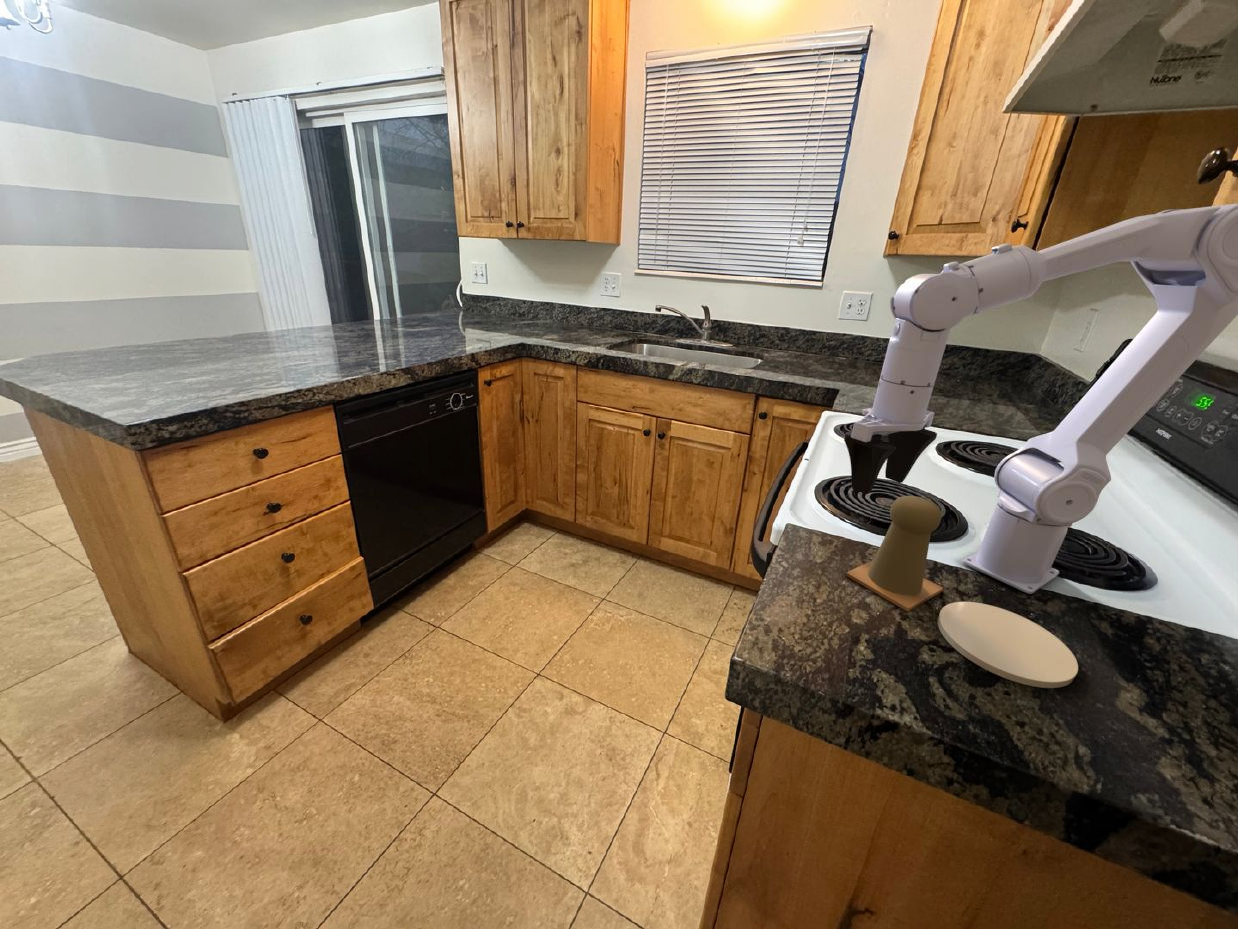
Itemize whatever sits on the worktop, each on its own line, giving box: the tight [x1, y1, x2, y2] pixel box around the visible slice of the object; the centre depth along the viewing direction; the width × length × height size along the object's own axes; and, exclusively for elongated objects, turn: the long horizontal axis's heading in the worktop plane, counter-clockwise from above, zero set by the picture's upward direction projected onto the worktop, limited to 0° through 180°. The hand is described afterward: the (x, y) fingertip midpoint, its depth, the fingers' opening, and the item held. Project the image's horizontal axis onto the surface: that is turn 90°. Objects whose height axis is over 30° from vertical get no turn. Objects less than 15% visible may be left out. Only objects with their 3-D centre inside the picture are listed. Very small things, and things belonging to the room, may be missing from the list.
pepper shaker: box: [868, 495, 943, 595], centre depth 60 cm, size 6×6×11 cm
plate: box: [937, 601, 1079, 689], centre depth 52 cm, size 12×12×1 cm
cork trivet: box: [845, 560, 944, 612], centre depth 62 cm, size 8×8×1 cm
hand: (877, 485), depth 64 cm, fingers open, 7 cm apart
